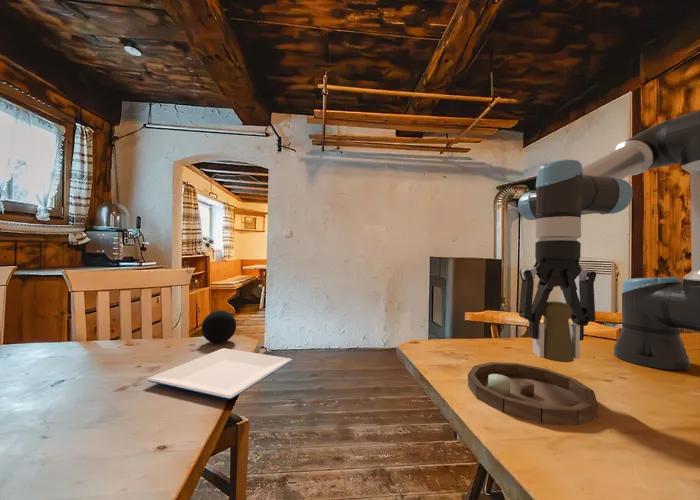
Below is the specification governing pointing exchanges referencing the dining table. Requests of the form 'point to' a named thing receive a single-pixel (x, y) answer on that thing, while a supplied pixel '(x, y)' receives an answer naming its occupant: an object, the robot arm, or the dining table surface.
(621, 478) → the dining table surface
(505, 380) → the pale beige rounded lump
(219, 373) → the plate
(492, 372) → the tray
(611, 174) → the robot arm
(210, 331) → the decorative ball
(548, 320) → the olive green knobbed peg
